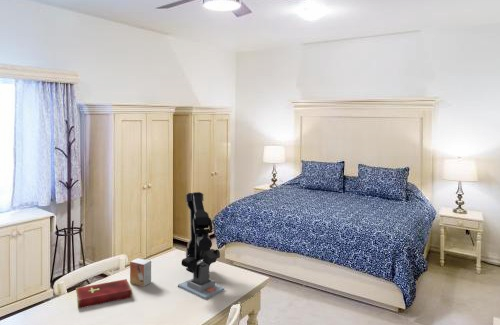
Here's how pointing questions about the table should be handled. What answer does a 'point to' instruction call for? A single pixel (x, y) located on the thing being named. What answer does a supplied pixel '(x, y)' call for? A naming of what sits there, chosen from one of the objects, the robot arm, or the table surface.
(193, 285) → the socket block
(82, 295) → the hardcover book
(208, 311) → the table surface
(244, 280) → the table surface
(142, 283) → the small box
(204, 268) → the plug
